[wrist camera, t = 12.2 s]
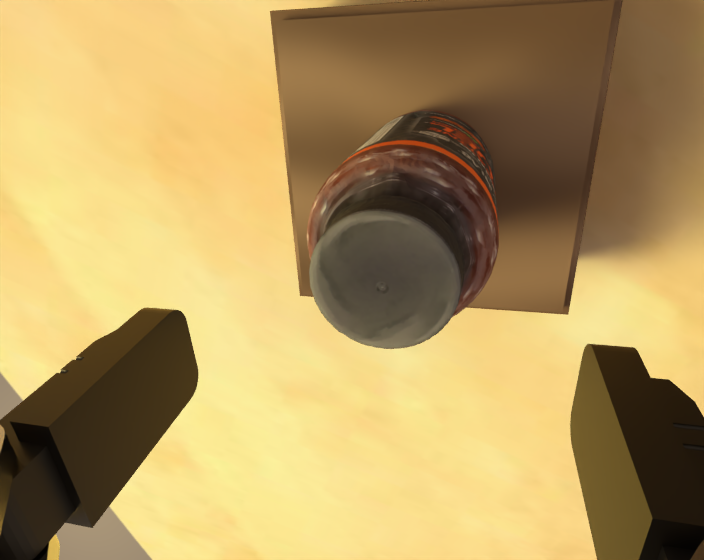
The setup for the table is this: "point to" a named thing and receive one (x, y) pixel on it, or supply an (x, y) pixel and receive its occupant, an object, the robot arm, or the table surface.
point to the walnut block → (459, 113)
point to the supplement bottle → (404, 231)
